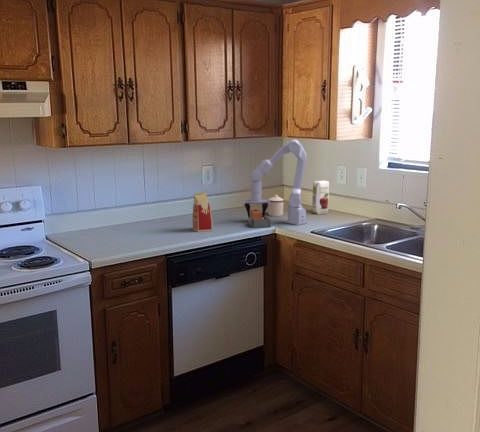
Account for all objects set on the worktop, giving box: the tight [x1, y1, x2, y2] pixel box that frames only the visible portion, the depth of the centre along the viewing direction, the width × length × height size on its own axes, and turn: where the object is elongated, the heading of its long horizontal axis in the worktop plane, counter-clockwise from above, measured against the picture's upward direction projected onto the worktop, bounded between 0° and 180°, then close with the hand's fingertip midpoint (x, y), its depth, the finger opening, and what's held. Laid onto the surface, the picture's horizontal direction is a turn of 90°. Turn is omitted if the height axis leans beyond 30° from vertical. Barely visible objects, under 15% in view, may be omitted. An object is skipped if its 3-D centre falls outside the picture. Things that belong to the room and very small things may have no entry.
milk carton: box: [192, 189, 213, 233], centre depth 266 cm, size 9×9×20 cm
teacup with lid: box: [267, 194, 285, 217], centre depth 306 cm, size 12×9×12 cm
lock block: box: [250, 209, 263, 220], centre depth 287 cm, size 8×5×6 cm, turn 8°
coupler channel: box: [247, 215, 271, 229], centre depth 277 cm, size 10×10×4 cm
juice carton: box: [311, 179, 330, 216], centre depth 309 cm, size 8×9×19 cm
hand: (256, 217), depth 287 cm, fingers open, 7 cm apart
